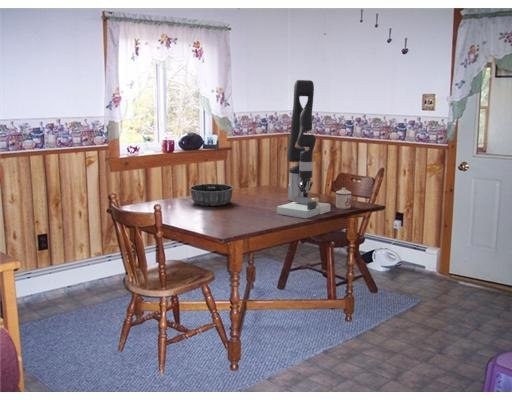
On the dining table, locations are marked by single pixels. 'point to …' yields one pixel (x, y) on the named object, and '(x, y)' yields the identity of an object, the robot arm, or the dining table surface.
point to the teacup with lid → (343, 199)
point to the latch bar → (305, 199)
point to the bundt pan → (211, 194)
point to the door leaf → (296, 210)
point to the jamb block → (319, 207)
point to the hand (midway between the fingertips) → (305, 198)
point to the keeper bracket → (311, 205)
